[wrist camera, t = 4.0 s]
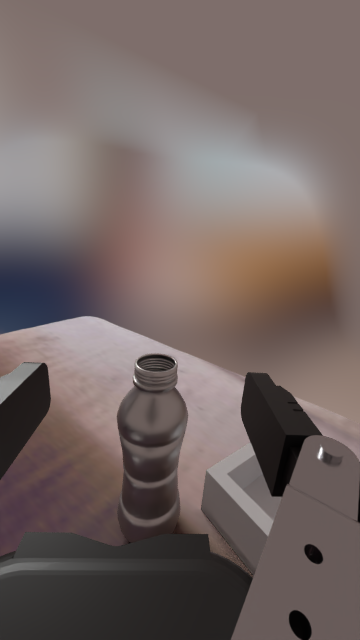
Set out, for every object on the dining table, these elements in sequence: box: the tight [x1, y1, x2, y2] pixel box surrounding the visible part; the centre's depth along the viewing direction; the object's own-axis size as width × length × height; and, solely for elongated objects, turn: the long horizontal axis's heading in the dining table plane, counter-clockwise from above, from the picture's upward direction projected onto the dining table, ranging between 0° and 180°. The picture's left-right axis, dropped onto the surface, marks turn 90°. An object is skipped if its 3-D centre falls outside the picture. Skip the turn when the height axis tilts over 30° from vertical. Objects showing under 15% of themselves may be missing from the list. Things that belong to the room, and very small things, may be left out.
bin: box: [201, 442, 282, 576], centre depth 29 cm, size 14×14×6 cm
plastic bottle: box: [117, 354, 188, 543], centre depth 26 cm, size 6×7×20 cm
